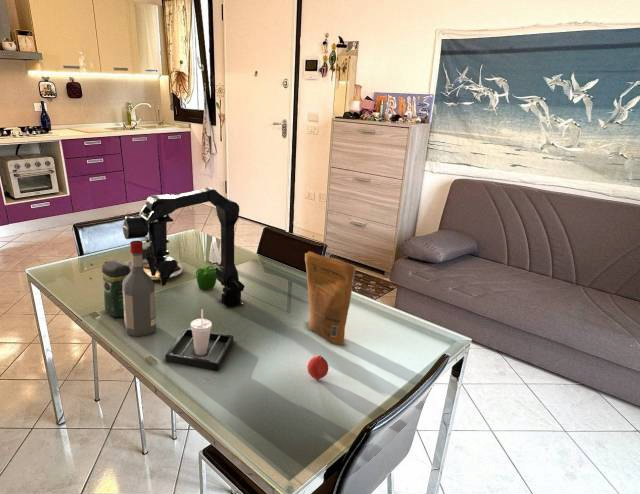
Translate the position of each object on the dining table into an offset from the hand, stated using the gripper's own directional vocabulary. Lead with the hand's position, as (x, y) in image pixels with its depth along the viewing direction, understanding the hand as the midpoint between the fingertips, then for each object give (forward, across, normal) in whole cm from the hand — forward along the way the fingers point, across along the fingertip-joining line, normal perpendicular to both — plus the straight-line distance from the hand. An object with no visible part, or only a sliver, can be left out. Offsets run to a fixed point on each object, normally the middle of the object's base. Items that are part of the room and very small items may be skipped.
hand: (158, 280), depth 145 cm
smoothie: (+15, +25, +4) cm, 29 cm away
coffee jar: (+15, -12, -10) cm, 22 cm away
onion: (+14, +52, +27) cm, 60 cm away
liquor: (+15, +3, -8) cm, 17 cm away
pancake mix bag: (+14, +34, +44) cm, 58 cm away
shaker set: (+13, -6, +74) cm, 76 cm away
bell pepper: (+14, -16, +26) cm, 34 cm away
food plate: (+15, -40, +13) cm, 45 cm away
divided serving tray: (+14, +25, +4) cm, 29 cm away
